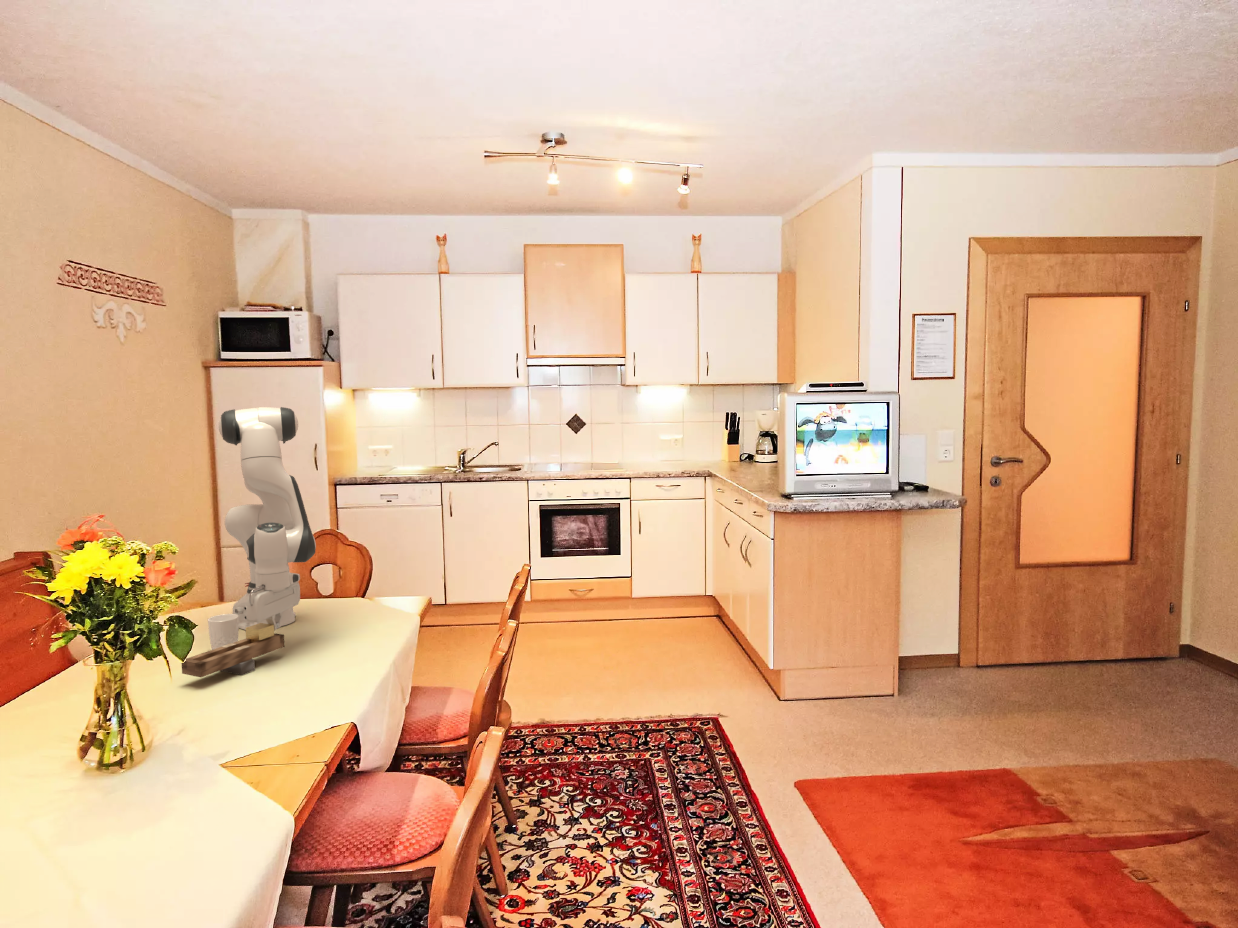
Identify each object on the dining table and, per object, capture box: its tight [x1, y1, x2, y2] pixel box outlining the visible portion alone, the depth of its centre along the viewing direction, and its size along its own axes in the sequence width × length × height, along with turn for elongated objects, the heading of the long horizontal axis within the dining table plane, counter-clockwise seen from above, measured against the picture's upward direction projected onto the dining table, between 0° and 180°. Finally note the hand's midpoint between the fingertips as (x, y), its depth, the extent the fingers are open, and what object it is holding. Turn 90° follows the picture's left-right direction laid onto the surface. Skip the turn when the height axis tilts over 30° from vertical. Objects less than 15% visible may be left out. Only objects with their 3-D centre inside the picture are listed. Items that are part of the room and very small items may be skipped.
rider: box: [245, 623, 275, 643], centre depth 212 cm, size 5×5×5 cm
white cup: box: [207, 613, 240, 650], centre depth 221 cm, size 8×8×10 cm
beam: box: [181, 632, 286, 678], centre depth 205 cm, size 26×9×7 cm, turn 156°
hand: (275, 628), depth 217 cm, fingers closed
